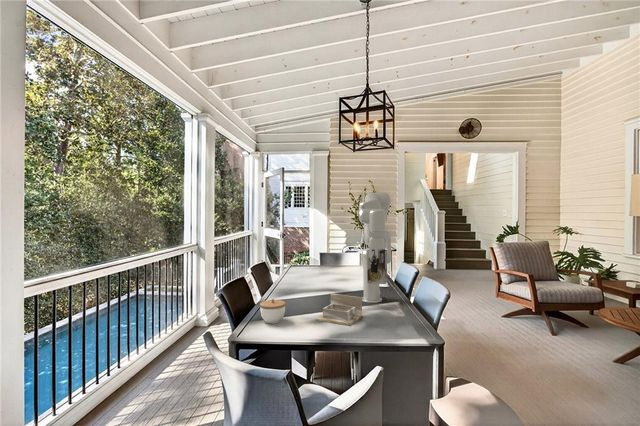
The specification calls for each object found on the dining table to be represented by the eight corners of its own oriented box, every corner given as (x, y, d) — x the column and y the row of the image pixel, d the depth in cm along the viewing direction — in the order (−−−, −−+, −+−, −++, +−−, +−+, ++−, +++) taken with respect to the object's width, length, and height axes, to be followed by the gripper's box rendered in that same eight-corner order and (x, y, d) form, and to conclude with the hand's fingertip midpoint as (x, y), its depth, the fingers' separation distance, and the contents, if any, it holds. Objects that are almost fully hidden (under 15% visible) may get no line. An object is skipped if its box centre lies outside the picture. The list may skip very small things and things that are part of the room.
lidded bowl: (257, 319, 184) (257, 297, 184) (281, 316, 188) (281, 295, 188) (263, 326, 172) (263, 303, 172) (288, 323, 177) (288, 301, 177)
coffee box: (387, 281, 179) (387, 249, 178) (385, 284, 173) (385, 251, 172) (369, 280, 182) (369, 248, 181) (366, 283, 176) (366, 250, 175)
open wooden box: (331, 311, 195) (331, 293, 195) (362, 316, 186) (362, 297, 186) (316, 320, 181) (316, 300, 181) (348, 325, 172) (348, 305, 172)
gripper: (376, 233, 186) (376, 267, 187) (362, 236, 171) (363, 273, 172) (390, 233, 182) (390, 268, 183) (377, 236, 167) (378, 275, 168)
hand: (377, 270), depth 177 cm, fingers closed on coffee box, 7 cm apart
